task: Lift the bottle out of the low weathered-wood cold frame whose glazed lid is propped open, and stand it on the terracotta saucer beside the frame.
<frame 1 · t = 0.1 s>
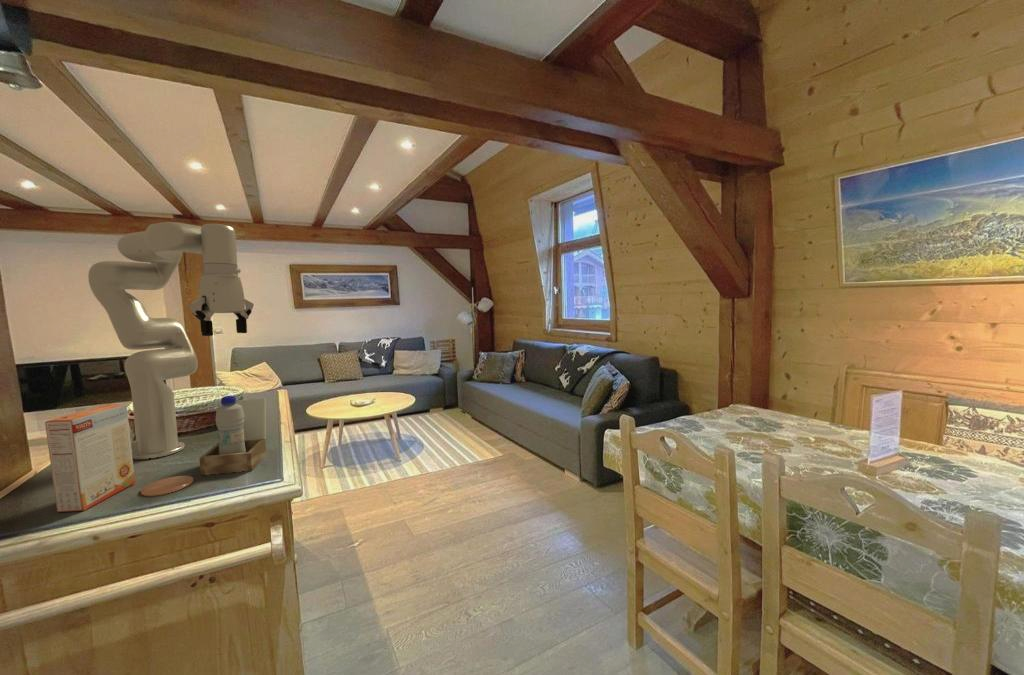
hand: (225, 334, 111), 37 cm above the table, tool pointing down, fingers open, 9 cm apart
saucer: (167, 486, 101), on the table
cold frame: (235, 464, 114), on the table
cracker box: (98, 498, 96), on the table
lid: (243, 427, 121), on the table
bottle: (233, 465, 114), resting in cold frame
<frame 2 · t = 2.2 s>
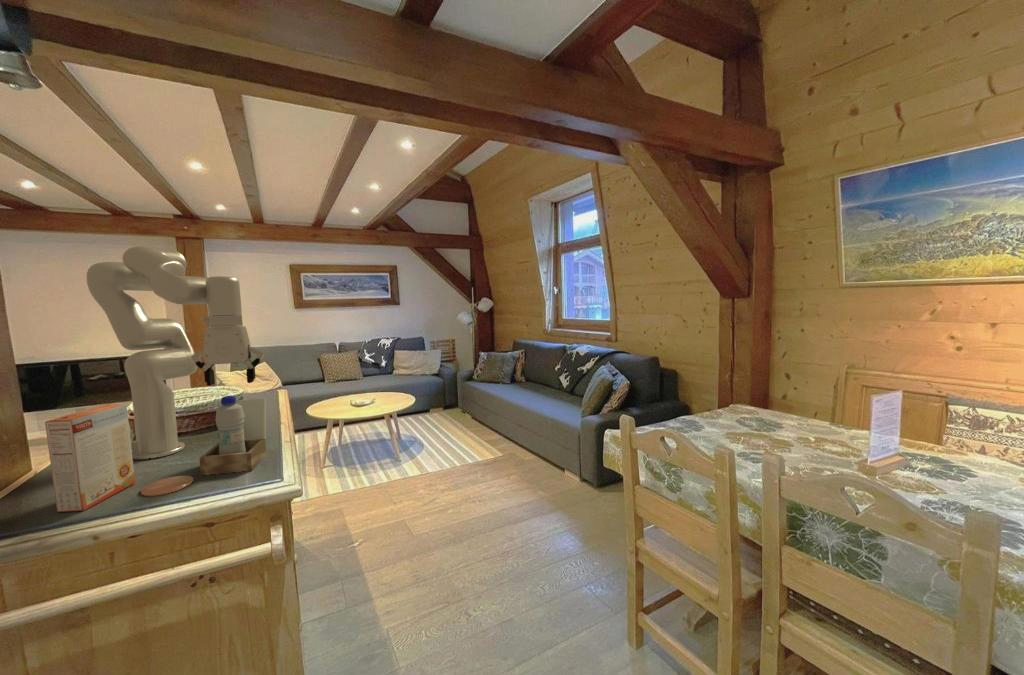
hand: (231, 383, 112), 23 cm above the table, tool pointing down, fingers open, 9 cm apart
nothing on the table moved.
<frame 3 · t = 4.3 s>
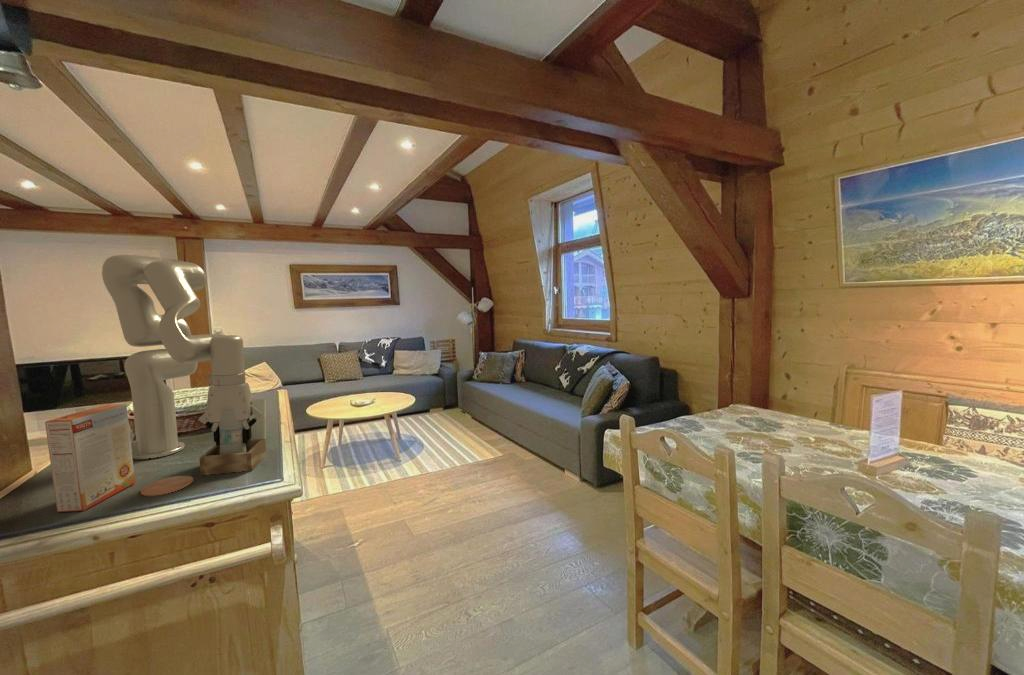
hand: (233, 442, 114), 7 cm above the table, tool pointing down, fingers closed on bottle, 6 cm apart
bottle: (233, 465, 114), resting in cold frame, touching gripper
everything else where it was.
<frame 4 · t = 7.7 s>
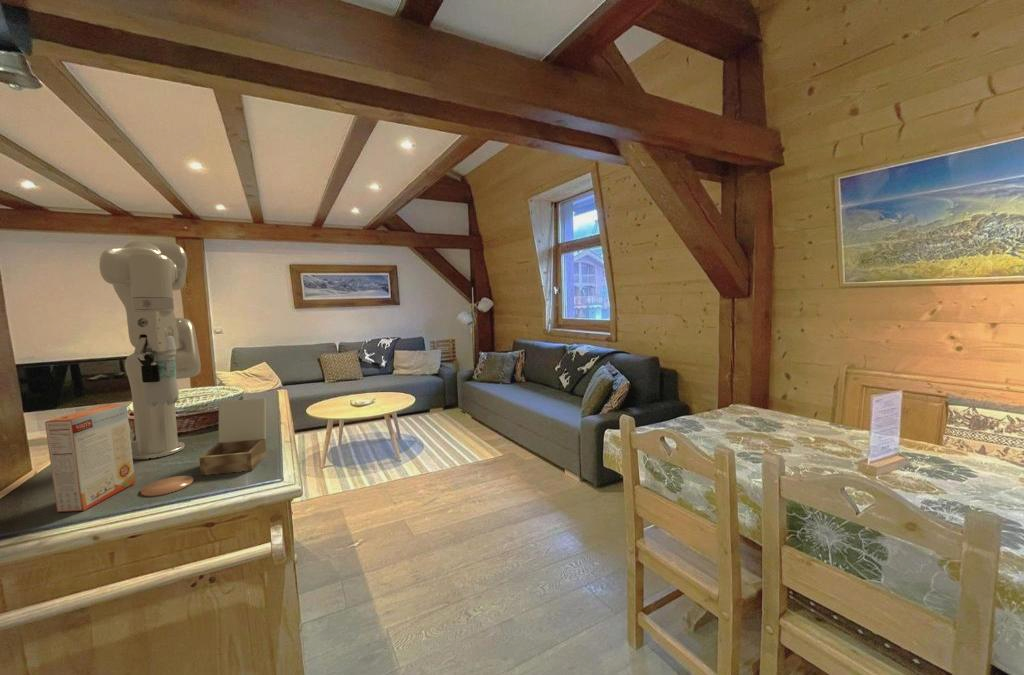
hand: (159, 378, 99), 27 cm above the table, tool pointing down, fingers closed on bottle, 6 cm apart
bottle: (162, 405, 99), point 21 cm above the table, touching gripper
everything else where it was.
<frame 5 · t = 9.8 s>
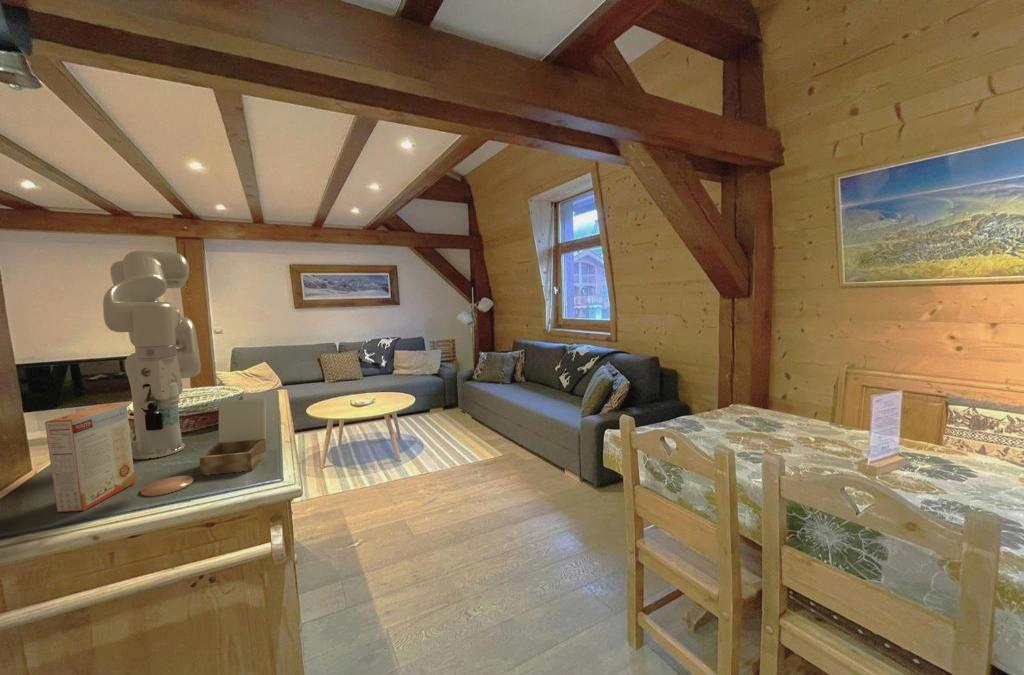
hand: (162, 425, 99), 16 cm above the table, tool pointing down, fingers closed on bottle, 6 cm apart
bottle: (165, 451, 100), point 9 cm above the table, touching gripper
everything else where it was.
when the fingers open (9 cm above the table, at t = 11.6 s): bottle drops 2 cm, resting on saucer.
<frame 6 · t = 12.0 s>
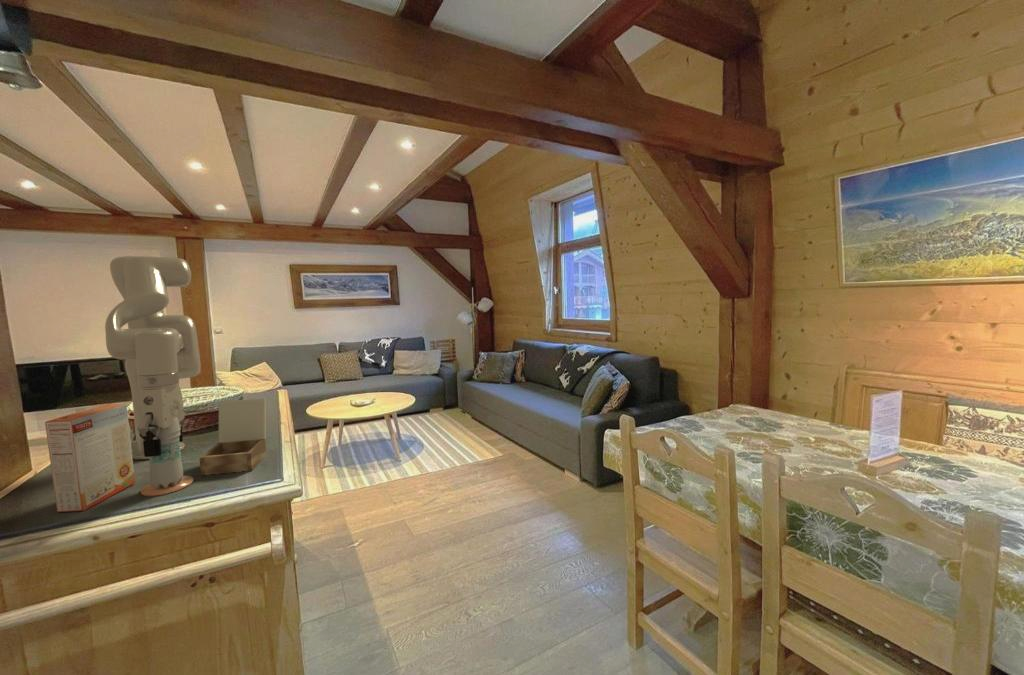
hand: (164, 448, 100), 10 cm above the table, tool pointing down, fingers open, 9 cm apart
bottle: (167, 485, 101), resting on saucer
everything else where it was.
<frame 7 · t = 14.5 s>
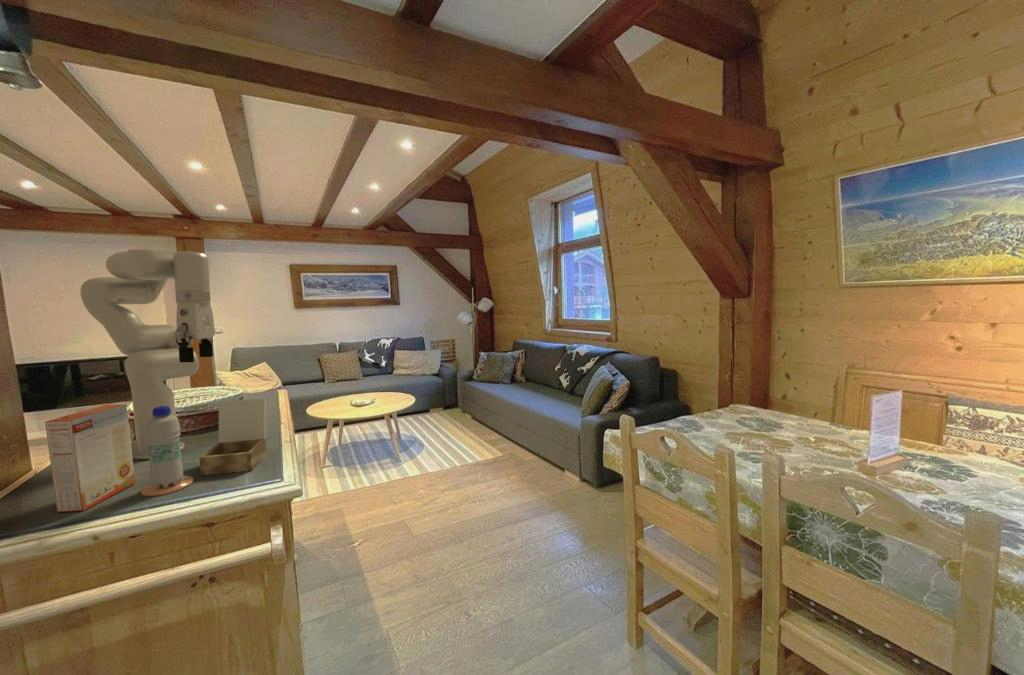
hand: (197, 359, 112), 30 cm above the table, tool pointing down, fingers open, 9 cm apart
nothing on the table moved.
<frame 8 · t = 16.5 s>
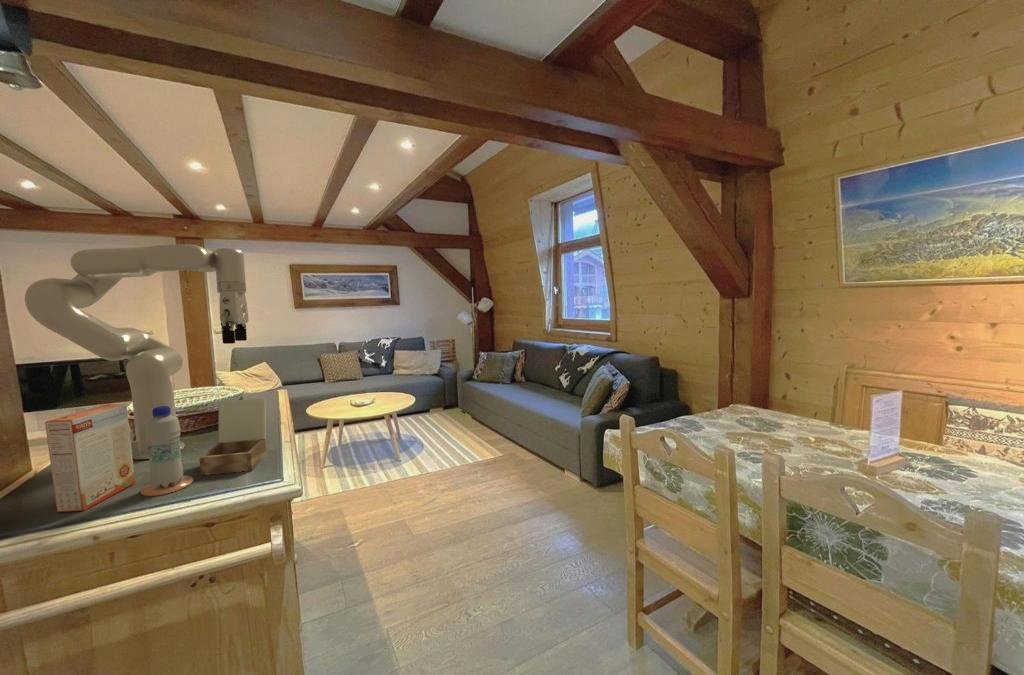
hand: (235, 342, 129), 33 cm above the table, tool pointing down, fingers open, 9 cm apart
nothing on the table moved.
at the end: bottle 0.3 cm from the saucer (horizontally); bottle tilted 0°; bottle resting on saucer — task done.
